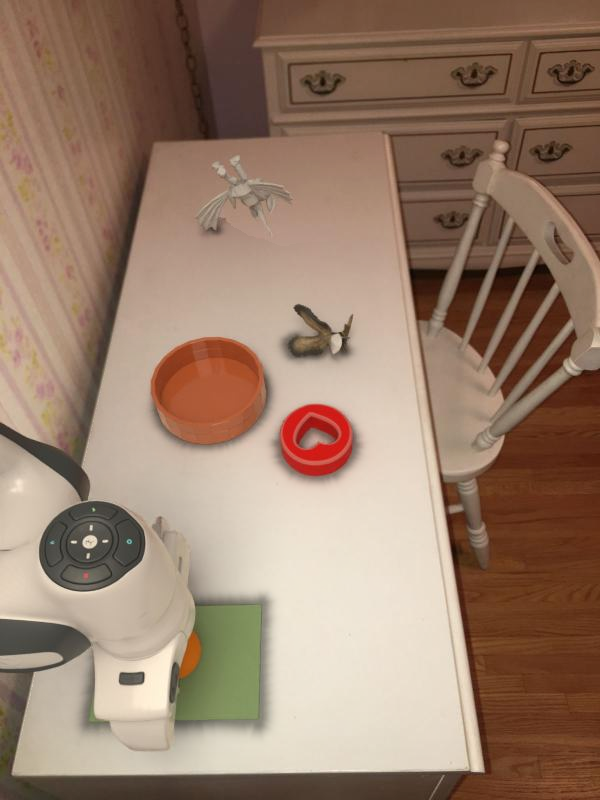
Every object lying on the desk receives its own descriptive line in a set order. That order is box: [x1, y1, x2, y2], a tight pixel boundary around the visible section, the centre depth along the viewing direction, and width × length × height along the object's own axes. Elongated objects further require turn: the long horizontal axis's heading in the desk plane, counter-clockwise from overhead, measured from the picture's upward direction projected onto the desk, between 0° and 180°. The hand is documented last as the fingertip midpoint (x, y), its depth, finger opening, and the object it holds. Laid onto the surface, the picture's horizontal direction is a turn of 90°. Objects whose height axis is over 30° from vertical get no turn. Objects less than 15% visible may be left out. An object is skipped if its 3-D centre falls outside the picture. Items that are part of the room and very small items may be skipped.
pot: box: [150, 336, 267, 445], centre depth 91 cm, size 16×16×4 cm
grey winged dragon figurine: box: [194, 154, 295, 239], centre depth 109 cm, size 10×18×14 cm, turn 85°
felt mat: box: [88, 604, 263, 723], centre depth 71 cm, size 18×12×1 cm, turn 90°
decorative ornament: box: [279, 403, 354, 477], centre depth 86 cm, size 10×10×3 cm
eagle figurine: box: [286, 303, 354, 357], centre depth 95 cm, size 8×7×9 cm
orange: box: [179, 630, 201, 679], centre depth 69 cm, size 6×6×6 cm
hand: (175, 653), depth 70 cm, fingers closed on orange, 5 cm apart
